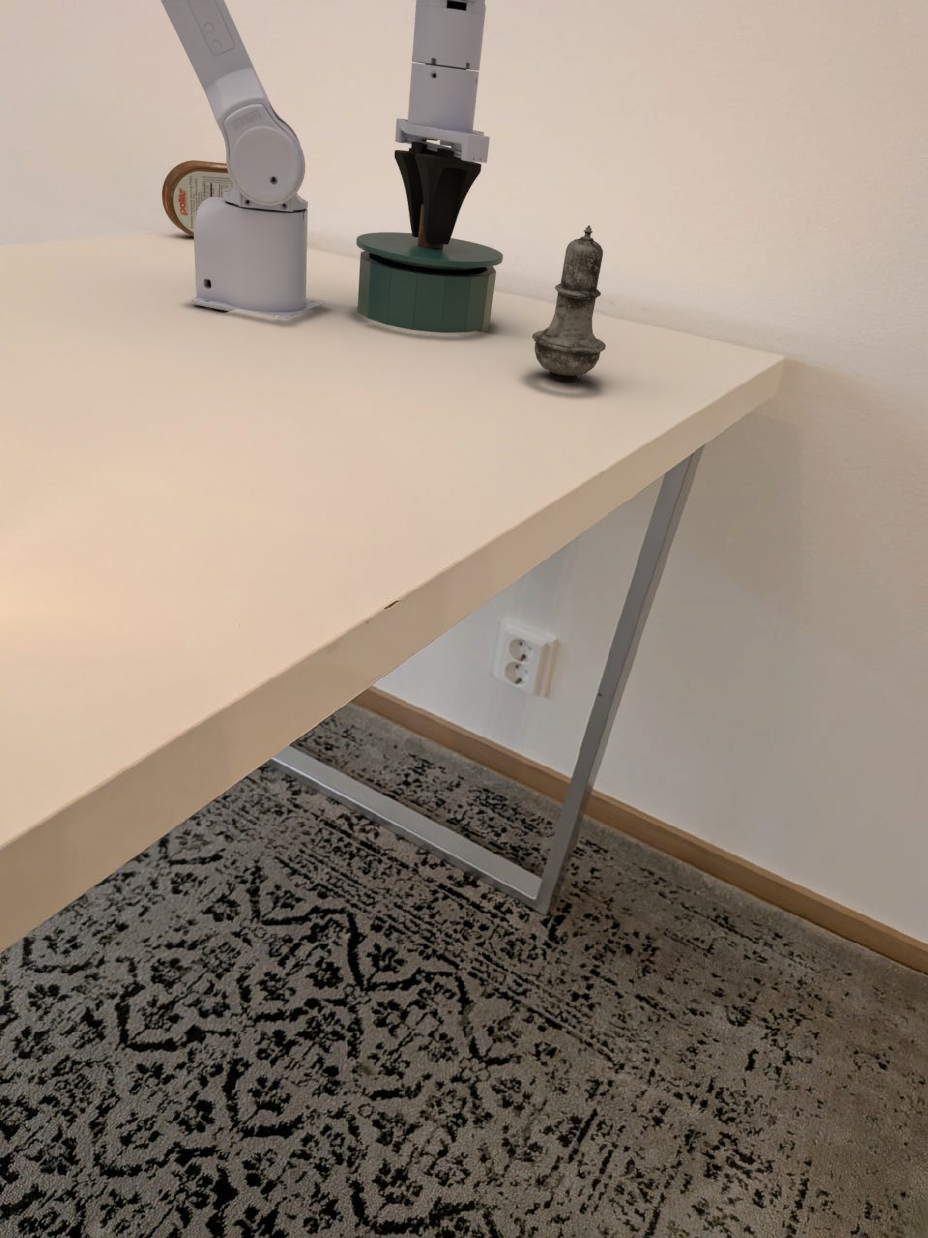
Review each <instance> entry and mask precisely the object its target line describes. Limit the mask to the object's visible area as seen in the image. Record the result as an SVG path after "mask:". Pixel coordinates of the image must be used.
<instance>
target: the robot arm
mask: <svg viewBox="0 0 928 1238" xmlns="http://www.w3.org/2000/svg"><path fill="white" fill-rule="evenodd" d="M160 2H161V4H162V6H163V7H164V10H165V12H166V14H167V16H168V18H169V20H170V23H171V24H172V27H173V29H174V31H175V33H176V35H177V37H178V39H179V42H180V43H181V46H182V47H183V49H184V52H185V54H186V56H187V58H188V60H189V62H190V64H191V67H192V68H193V71H194V73H195V75H196V76H197V78H198V81H199V83H200V85H201V87H202V89H203V91H204V94H205V96H206V98H207V101H208V105H209V107H210V109H211V112H212V114H213V118H214V120H215V123H216V124H217V127H218V128H219V130H220V132H221V134H222V138H223V139H224V144H225V163H226V164H227V169H228V173H229V176H230V178H231V180H232V182H233V184H234V185H233V186H232V187H231V188H230V189H228V190H225V191H224V194H223V197H224V198H221V197H209V198H207V199H206V200H204V201H203V202H202V203H201V205H200V206H199V208H198V211H197V214H196V218H195V224H194V236H193V247H194V269H195V271H194V272H195V274H194V275H195V293H196V294H195V295H196V296H195V297H193V298H191V304H192V305H196V306H201V307H205V308H209V309H215V310H220V311H225V312H231V311H235V310H240V311H245V312H250V313H255V314H258V315H259V314H260V315H265V316H269V317H276V318H279V319H288V318H291V317H293V316H296V315H298V314H301V313H304V312H306V311H308V310H311V309H314V308H317V307H319V306H322V305H323V302H321V301H316V300H311V299H307V267H308V266H307V264H308V261H307V260H308V255H307V254H308V222H309V221H308V217H309V215H308V214H309V209H308V207H309V202H308V201H307V200H306V199H304V198H302V197H301V196H300V195H299V194H298V192H299V190H300V188H301V187H302V185H303V182H304V180H305V176H306V175H305V174H306V158H305V154H304V151H303V148H302V146H301V143H300V140H299V137H298V135H297V134H296V132H295V130H294V129H293V128H292V127H291V126H290V124H288V123H287V122H286V121H285V120H284V119H283V118H281V116H280V115H279V114H278V113H277V112H276V110H275V109H274V107H273V106H272V104H271V101H270V99H269V97H268V95H267V92H266V90H265V88H264V86H263V83H262V82H261V80H260V77H259V74H258V73H257V71H256V69H255V67H254V64H253V62H252V60H251V58H250V55H249V53H248V50H247V49H246V46H245V44H244V42H243V40H242V37H241V35H240V33H239V31H238V28H237V26H236V24H235V21H234V19H233V18H232V15H231V13H230V10H229V7H228V6H227V3H226V1H225V0H160ZM486 11H487V7H486V0H415V14H414V27H413V39H412V40H413V42H412V56H411V71H410V79H409V80H410V82H409V94H408V95H409V96H408V109H407V119H406V118H396V122H395V140H394V141H395V143H398V144H399V143H400V144H407V145H410V147H408V150H402V149H395V150H394V159H395V162H396V164H397V166H398V169H399V173H400V175H401V178H402V181H403V186H404V190H405V195H406V201H407V208H408V217H409V224H410V225H409V226H410V232H411V233H412V236H413V237H418V233H419V220H420V208H421V203H424V234H425V240H426V243H429V244H447V245H448V244H449V241H450V239H451V238H452V236H453V232H454V229H455V227H456V226H455V225H456V223H457V220H458V218H459V214H460V211H461V209H462V206H463V204H464V201H465V199H466V197H467V195H468V193H469V191H470V189H471V187H472V186H473V184H474V183H475V181H476V179H477V178H478V176H479V175H480V174H481V172H482V163H483V164H487V163H488V157H489V156H488V155H489V149H490V148H489V147H490V139H491V137H490V136H488V135H485V132H484V131H481V130H476V129H474V126H475V125H474V124H475V115H476V114H475V113H476V104H477V94H478V85H479V76H480V75H479V74H480V72H479V71H480V70H481V69H480V68H481V59H482V50H483V49H482V48H483V40H484V31H485V30H484V28H485V21H486ZM430 141H433V142H430ZM438 141H439V144H438V143H435V142H438Z"/></svg>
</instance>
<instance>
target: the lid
mask: <svg viewBox="0 0 928 1238" xmlns="http://www.w3.org/2000/svg"><path fill="white" fill-rule="evenodd" d="M355 242H356V243H355V244H356V246H357V247H358V248H359V249H360V250H363V251H367V252H369V253H372V254H375V255H378V256H380V257H382V258H384V259H387V260H390V261H393V262H397V263H401V264H405V265H411V266H416V267H423V268H431V269H443V270H469V269H475V268H479V267H490V266H493V267H495V266H498V265H500V264H502V263H503V260H504V254H503V253H502V252H501V251H499V250H498V249H495V248H493V247H490V246H489V245H485V244H482V243H477V242H474V241H469V240H464V239H459V238H453V237H451V239H450V241H449V244H448V245H447V244H429V243H426V240H425V234H424V203H421V208H420V220H419V233H418V237H413V236H412V232H398V231H397V232H392V231H391V232H390V231H389V232H388V231H383V232H380V231H379V232H368V233H364V234H360V235H358V236H357V237H356V241H355Z"/></svg>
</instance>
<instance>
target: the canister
mask: <svg viewBox="0 0 928 1238" xmlns="http://www.w3.org/2000/svg"><path fill="white" fill-rule="evenodd" d="M496 277H497V270H496V269H495V266H490V267H479V268H475V269H469V270H443V269H431V268H423V267H416V266H411V265H405V264H401V263H397V262H393V261H390V260H387V259H384V258H382V257H380V256H378V255H375V254H372V253H369V252H367V251H364V250H363V251H361V252H360V256H359V275H358V294H357V296H358V297H357V312H358V313H359V314H360V315H362V316H364V317H365V318H366V319H369V320H371V321H375V322H377V323H380V324H383V325H387V326H390V327H391V326H392V327H397V328H402V329H407V330H411V331H420V332H429V333H430V332H431V333H441V334H445V333H446V334H447V333H448V334H449V333H469V332H480V333H487V331H488V330H489V327H490V324H491V316H492V309H493V300H494V293H495V292H494V291H495V284H496Z"/></svg>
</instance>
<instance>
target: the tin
mask: <svg viewBox="0 0 928 1238" xmlns="http://www.w3.org/2000/svg"><path fill="white" fill-rule="evenodd" d="M233 185H234V184H233V182H232V180H231V178H230V176H229V173H228V169H227V164H226V162H217V161H216V162H215V161H206V160H195V159H194V160H186V161H183V162H180V163H178V164H177V165H176V166H174V167H173V168H171V170H170V171H169V172H168V173H167V175H166V177H165V179H164V181H163V184H162V189H161V200H162V206H163V209H164V213H165V214H166V216H167V218H169V220H170V221H171V223H172V224H173V225H174V226H176V228H178V229H179V230H181V231H182V232H183V233H185V234H187V235H189V236H191V237H194V224H195V218H196V214H197V211H198V208H199V206H200V205H201V203H202V202H203V201H204V200H206V199H207V198H209V197H221V198H224V197H223V194H224V191H225V190H228V189H230V188H231V187H232V186H233Z"/></svg>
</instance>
